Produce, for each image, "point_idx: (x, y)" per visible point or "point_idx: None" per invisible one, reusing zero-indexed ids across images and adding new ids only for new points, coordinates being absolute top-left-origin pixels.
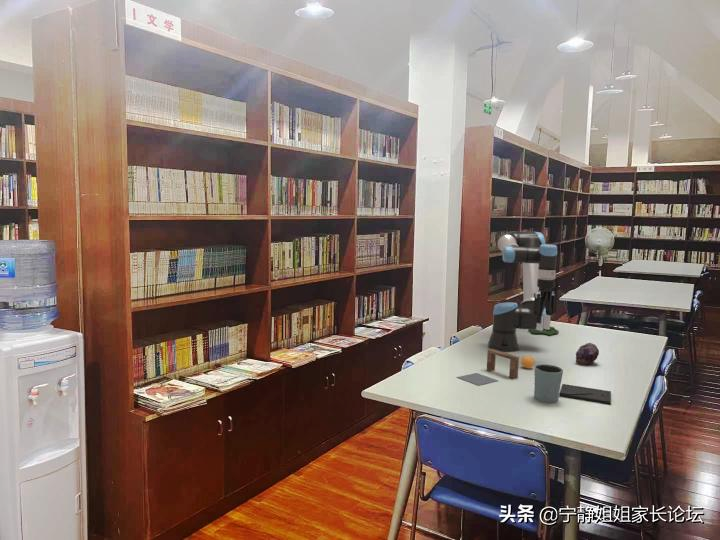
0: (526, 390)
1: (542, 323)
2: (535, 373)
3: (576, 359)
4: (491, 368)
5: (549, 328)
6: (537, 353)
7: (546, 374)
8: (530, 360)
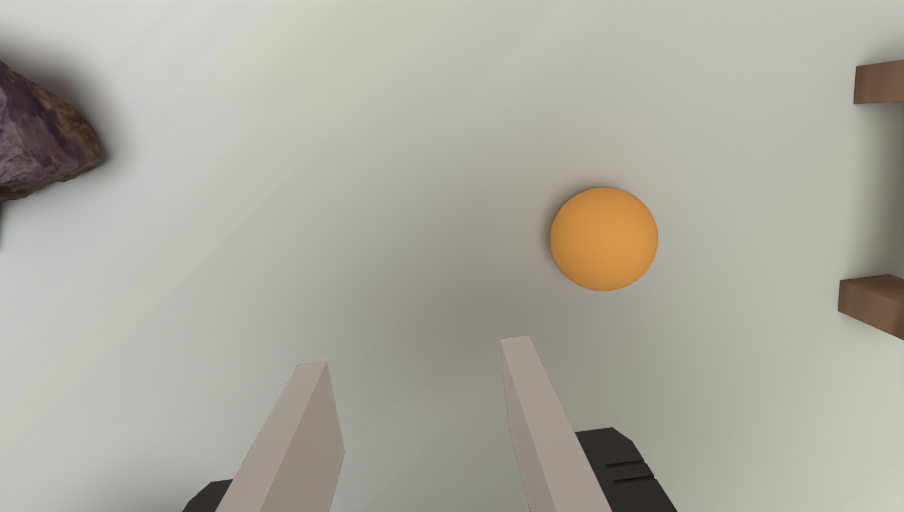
0: None
1: (536, 408)
2: None
3: (84, 158)
4: (890, 281)
5: (296, 374)
6: None
7: None
8: (628, 201)
